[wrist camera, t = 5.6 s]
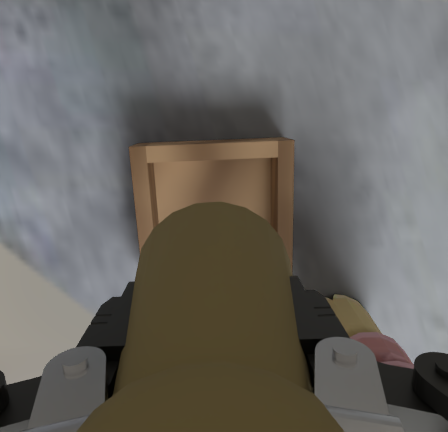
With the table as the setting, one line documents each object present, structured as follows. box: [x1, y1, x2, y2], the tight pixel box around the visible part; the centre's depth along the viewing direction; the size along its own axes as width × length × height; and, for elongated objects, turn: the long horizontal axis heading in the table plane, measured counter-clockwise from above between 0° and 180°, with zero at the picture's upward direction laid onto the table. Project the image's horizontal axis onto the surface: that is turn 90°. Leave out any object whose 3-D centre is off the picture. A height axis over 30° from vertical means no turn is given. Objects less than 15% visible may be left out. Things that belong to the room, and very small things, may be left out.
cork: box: [76, 201, 344, 432], centre depth 9 cm, size 6×6×11 cm
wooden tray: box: [129, 137, 294, 269], centre depth 25 cm, size 10×10×3 cm
